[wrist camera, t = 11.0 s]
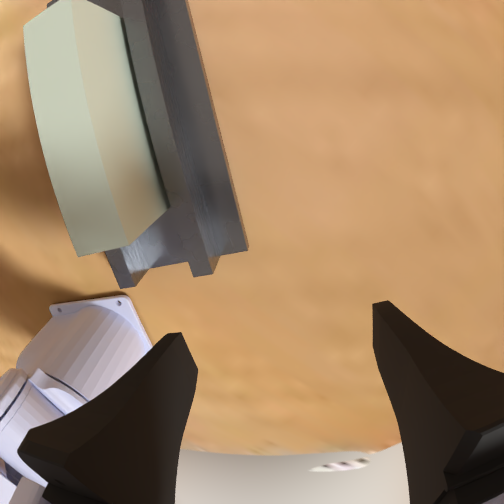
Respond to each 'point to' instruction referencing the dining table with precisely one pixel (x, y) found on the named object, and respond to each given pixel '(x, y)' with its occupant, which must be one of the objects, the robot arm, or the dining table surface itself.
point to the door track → (178, 146)
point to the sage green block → (92, 125)
